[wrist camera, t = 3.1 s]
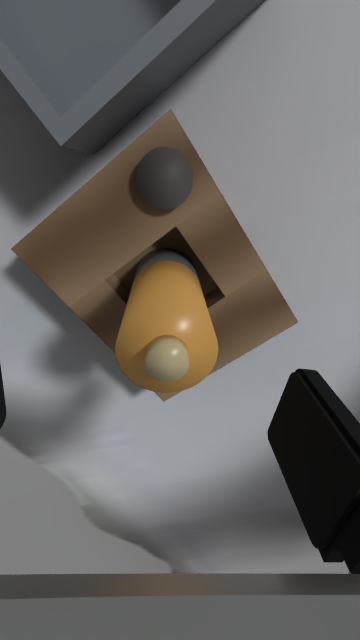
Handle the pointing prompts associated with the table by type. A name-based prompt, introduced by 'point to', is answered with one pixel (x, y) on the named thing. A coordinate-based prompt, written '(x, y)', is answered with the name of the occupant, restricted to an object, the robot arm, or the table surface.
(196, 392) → the table surface
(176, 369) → the cylinder
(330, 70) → the table surface
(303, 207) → the table surface
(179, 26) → the bin
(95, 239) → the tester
